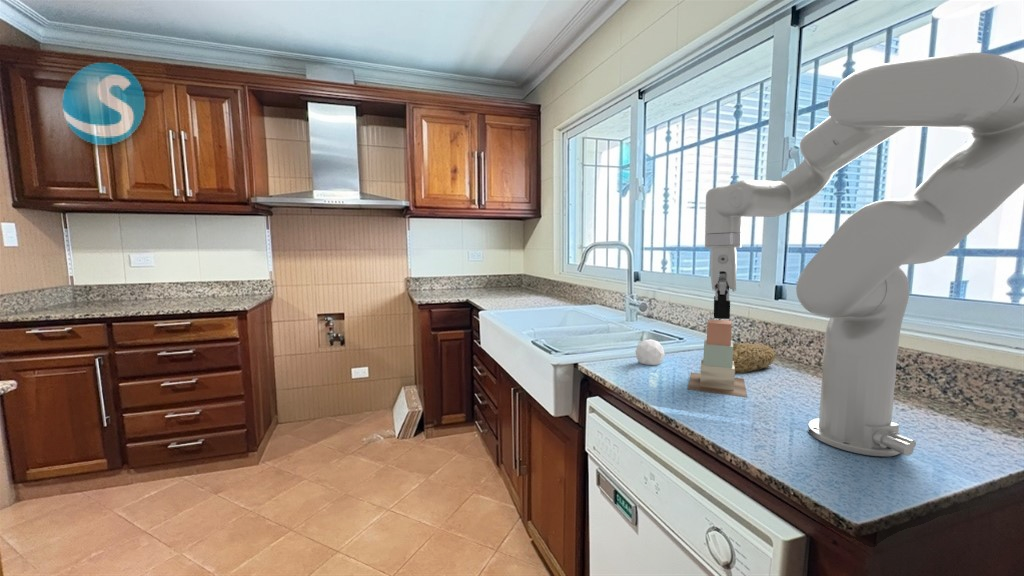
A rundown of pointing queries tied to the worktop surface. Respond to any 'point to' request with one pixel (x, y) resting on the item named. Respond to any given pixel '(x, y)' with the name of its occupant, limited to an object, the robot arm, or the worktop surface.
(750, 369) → the sponge
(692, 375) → the walnut board
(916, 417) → the worktop surface
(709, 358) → the tower middle block
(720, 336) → the terracotta block
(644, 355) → the ball
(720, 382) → the tower base block
